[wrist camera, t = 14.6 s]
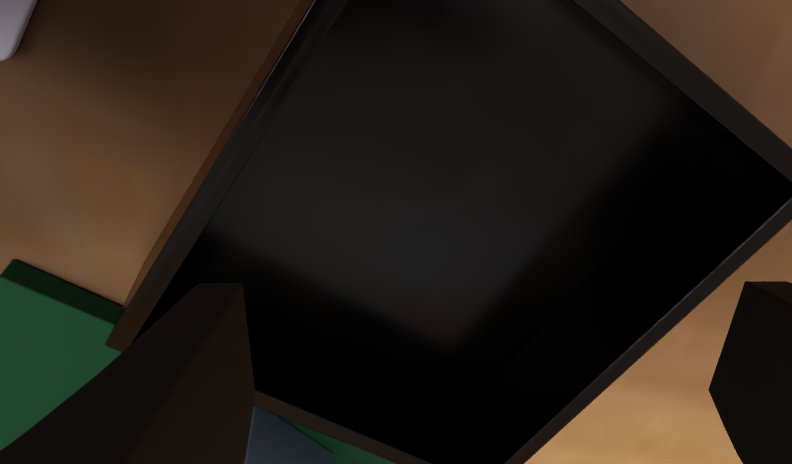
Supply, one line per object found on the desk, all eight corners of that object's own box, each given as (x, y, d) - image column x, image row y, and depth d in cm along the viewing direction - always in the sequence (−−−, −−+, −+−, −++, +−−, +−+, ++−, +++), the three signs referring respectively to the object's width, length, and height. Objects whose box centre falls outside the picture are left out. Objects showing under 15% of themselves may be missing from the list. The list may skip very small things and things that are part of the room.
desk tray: (143, 263, 20) (103, 346, 17) (398, -165, 15) (417, -174, 11) (463, 412, 25) (484, 501, 21) (744, 127, 19) (833, 183, 16)
